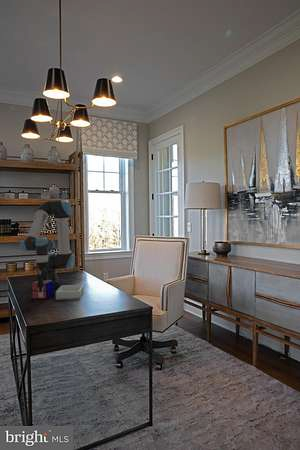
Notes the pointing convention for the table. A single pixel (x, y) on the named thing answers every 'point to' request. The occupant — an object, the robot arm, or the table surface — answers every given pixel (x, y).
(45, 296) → the puzzle cube
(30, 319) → the table surface
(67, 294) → the bin
